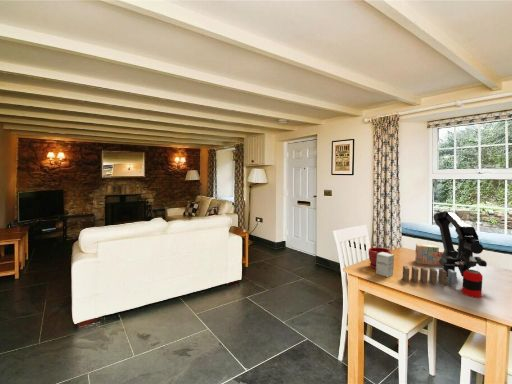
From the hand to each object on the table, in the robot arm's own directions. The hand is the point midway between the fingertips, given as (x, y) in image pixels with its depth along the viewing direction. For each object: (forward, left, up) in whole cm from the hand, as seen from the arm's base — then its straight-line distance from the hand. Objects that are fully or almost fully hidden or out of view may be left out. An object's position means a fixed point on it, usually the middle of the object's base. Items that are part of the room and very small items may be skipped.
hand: (462, 276), depth 146 cm
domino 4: (0, -14, -5) cm, 15 cm away
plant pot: (-18, -39, -5) cm, 43 cm away
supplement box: (-6, -38, -5) cm, 39 cm away
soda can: (+12, -1, -5) cm, 13 cm away
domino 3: (0, -19, -5) cm, 20 cm away
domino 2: (0, -24, -5) cm, 24 cm away
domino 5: (0, -10, -5) cm, 11 cm away
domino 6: (0, -5, -5) cm, 7 cm away
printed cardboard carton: (-37, -1, -5) cm, 37 cm away
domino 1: (0, -28, -5) cm, 29 cm away
